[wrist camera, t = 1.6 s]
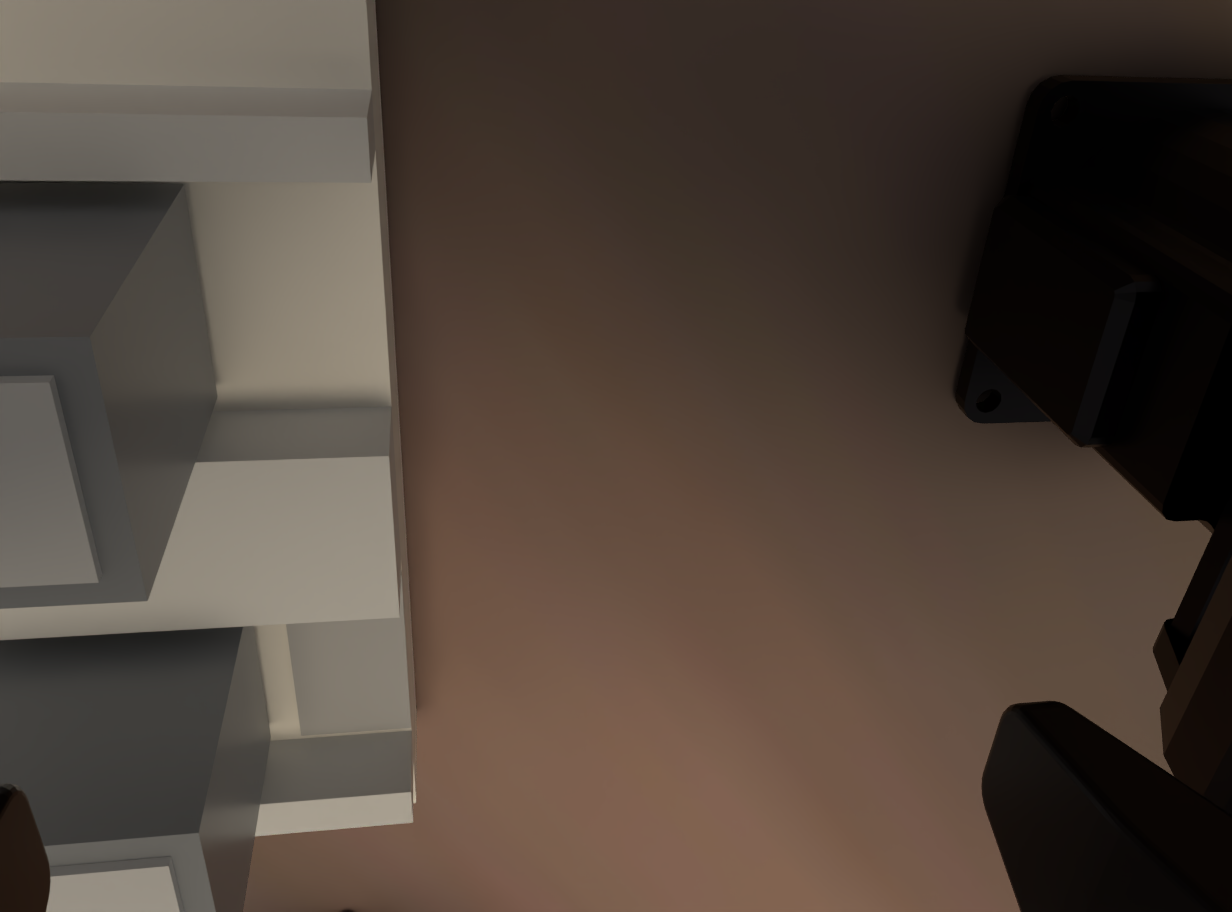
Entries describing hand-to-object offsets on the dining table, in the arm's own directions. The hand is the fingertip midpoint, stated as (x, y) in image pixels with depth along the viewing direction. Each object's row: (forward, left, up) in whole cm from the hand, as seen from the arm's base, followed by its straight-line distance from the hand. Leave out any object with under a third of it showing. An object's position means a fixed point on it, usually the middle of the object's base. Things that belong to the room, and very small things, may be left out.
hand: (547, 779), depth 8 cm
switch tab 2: (+6, +7, -9) cm, 13 cm away
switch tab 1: (+6, 0, -9) cm, 11 cm away
